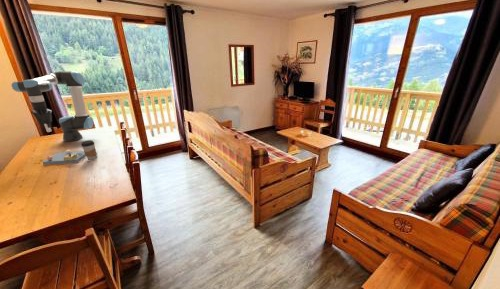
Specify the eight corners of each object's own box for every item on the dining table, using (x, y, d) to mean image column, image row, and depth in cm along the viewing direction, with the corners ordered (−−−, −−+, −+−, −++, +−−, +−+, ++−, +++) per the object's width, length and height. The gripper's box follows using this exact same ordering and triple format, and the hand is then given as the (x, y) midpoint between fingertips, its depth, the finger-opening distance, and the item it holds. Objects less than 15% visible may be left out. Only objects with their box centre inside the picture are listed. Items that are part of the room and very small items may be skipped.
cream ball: (68, 152, 175) (66, 149, 174) (72, 152, 175) (71, 148, 174) (65, 154, 172) (64, 150, 171) (69, 153, 172) (68, 150, 171)
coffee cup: (92, 161, 165) (86, 144, 159) (83, 160, 166) (77, 143, 160) (101, 157, 172) (96, 140, 166) (92, 156, 174) (87, 139, 168)
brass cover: (69, 157, 166) (67, 153, 164) (77, 157, 166) (76, 152, 165) (64, 160, 160) (62, 156, 159) (73, 160, 161) (71, 155, 159)
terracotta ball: (49, 159, 163) (48, 155, 162) (54, 159, 163) (52, 155, 162) (46, 161, 160) (45, 157, 159) (51, 160, 161) (49, 157, 159)
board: (58, 155, 175) (57, 152, 174) (89, 153, 179) (89, 150, 178) (43, 164, 160) (42, 161, 159) (78, 162, 163) (77, 159, 162)
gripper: (23, 102, 150) (36, 133, 159) (44, 102, 152) (55, 132, 161) (31, 100, 157) (43, 130, 166) (51, 100, 159) (61, 129, 168)
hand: (49, 131), depth 164 cm, fingers closed
